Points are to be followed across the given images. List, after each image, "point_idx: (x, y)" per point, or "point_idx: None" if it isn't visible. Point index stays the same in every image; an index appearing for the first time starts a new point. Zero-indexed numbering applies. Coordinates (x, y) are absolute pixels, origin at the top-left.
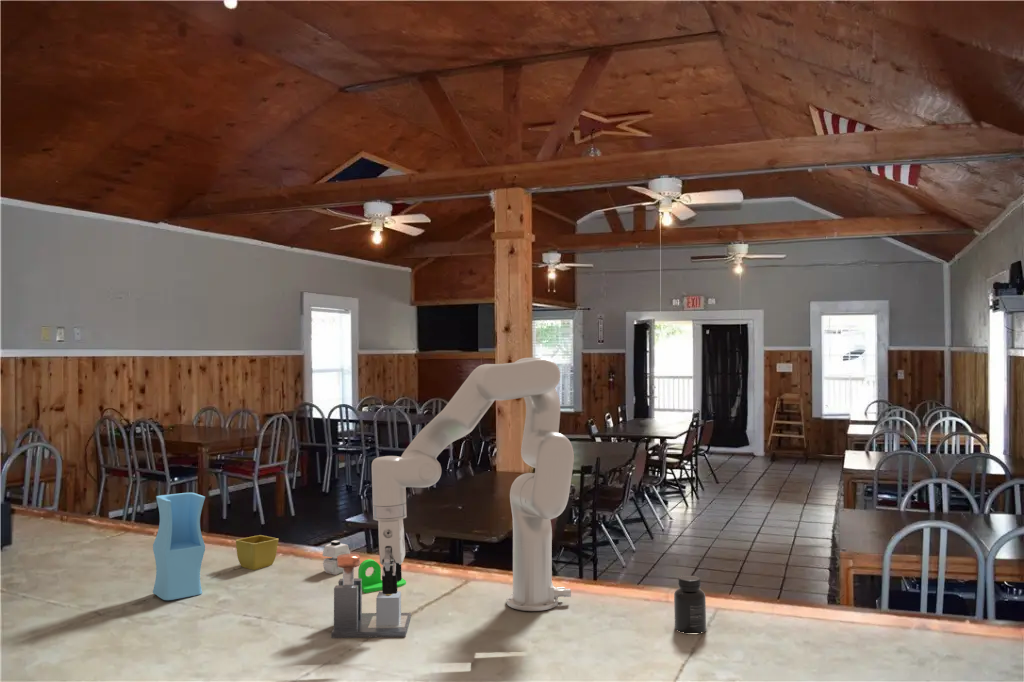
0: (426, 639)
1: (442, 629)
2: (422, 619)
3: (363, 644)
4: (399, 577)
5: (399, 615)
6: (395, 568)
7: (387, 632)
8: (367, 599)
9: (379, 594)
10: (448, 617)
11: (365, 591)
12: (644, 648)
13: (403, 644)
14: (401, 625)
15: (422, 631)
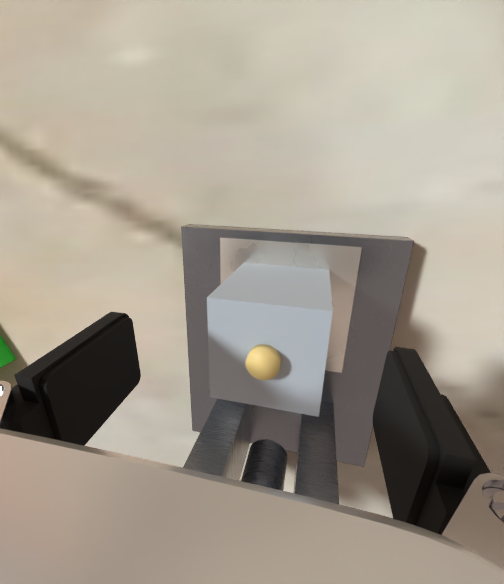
0: (463, 143)
1: (338, 73)
2: (206, 177)
3: (449, 376)
4: (120, 331)
5: (296, 274)
6: (471, 545)
7: (398, 309)
8: (39, 353)
9: (258, 399)
10: (182, 58)
11: (2, 364)
12: None
13: (499, 242)
14: (337, 259)
15: (350, 169)
